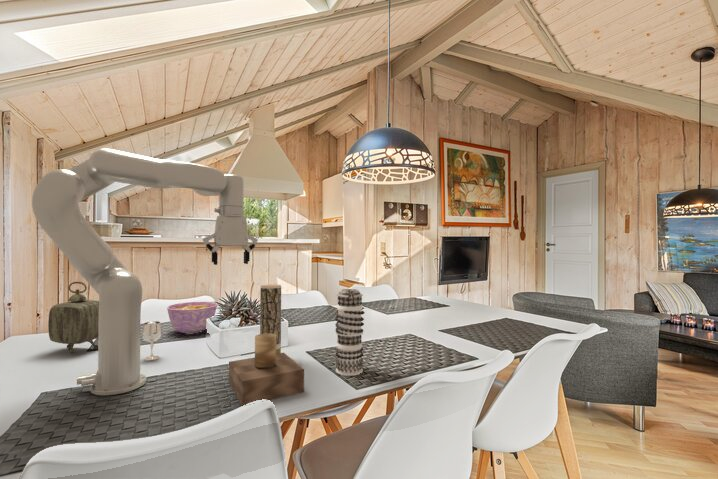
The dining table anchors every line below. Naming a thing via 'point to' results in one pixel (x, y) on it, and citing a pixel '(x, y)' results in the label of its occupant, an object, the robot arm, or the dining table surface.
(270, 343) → the oak peg
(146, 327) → the wineglass
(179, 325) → the bowl of food
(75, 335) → the tabletop clock
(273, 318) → the bark pattern cylinder
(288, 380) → the socket block
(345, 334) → the patterned tall cylinder
